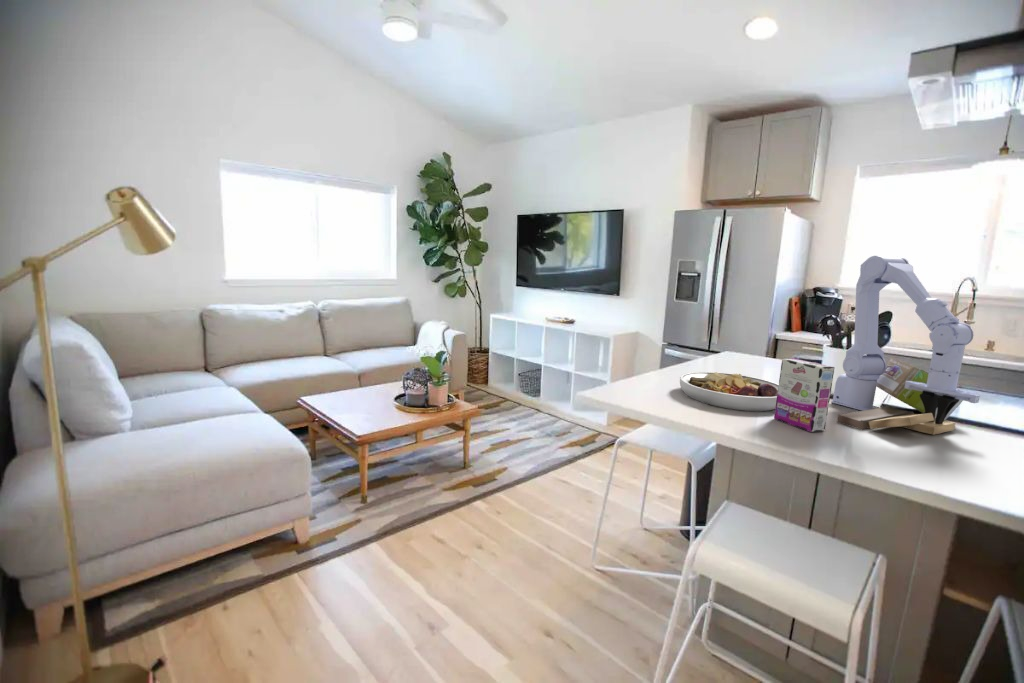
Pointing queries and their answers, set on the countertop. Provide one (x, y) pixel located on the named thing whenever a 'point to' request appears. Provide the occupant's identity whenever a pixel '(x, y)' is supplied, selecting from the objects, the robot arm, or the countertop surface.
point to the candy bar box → (804, 394)
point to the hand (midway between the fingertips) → (934, 422)
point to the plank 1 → (901, 421)
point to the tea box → (895, 384)
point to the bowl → (730, 390)
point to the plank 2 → (931, 427)
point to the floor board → (870, 416)
